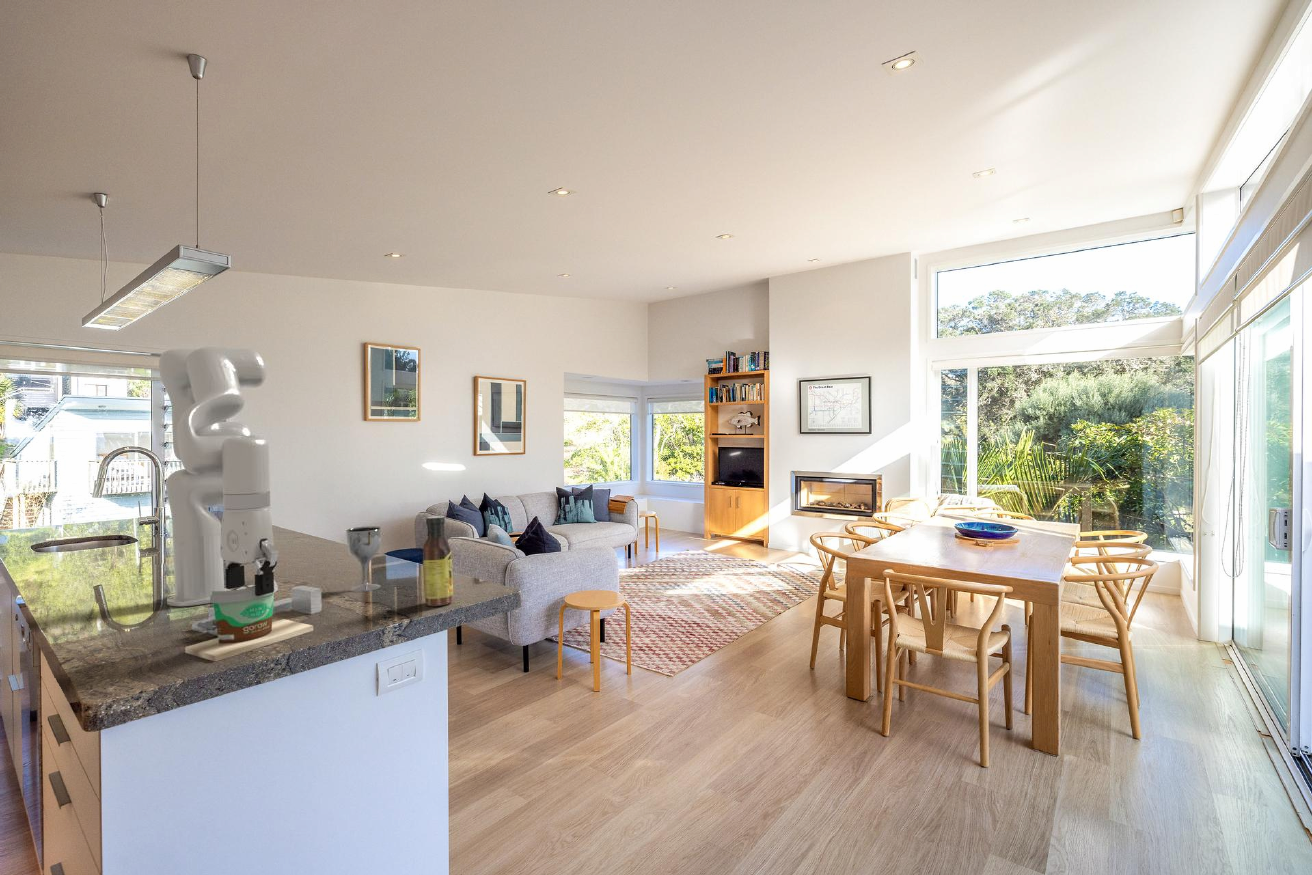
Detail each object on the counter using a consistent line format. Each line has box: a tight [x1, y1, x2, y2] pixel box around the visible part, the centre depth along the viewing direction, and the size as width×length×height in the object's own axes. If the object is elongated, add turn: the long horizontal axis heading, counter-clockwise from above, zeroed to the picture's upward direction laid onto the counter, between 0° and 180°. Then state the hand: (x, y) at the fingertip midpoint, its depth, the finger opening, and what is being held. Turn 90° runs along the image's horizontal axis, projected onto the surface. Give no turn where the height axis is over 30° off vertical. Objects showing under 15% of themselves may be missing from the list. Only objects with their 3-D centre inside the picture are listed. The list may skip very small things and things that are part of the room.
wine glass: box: [345, 525, 382, 593], centre depth 158 cm, size 8×8×15 cm
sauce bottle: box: [422, 515, 454, 607], centre depth 143 cm, size 6×6×20 cm
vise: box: [191, 585, 323, 636], centre depth 132 cm, size 12×22×5 cm, turn 152°
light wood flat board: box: [184, 618, 314, 663], centre depth 120 cm, size 10×18×1 cm, turn 152°
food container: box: [209, 579, 279, 644], centre depth 120 cm, size 12×6×10 cm, turn 163°
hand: (249, 590), depth 120 cm, fingers open, 9 cm apart
